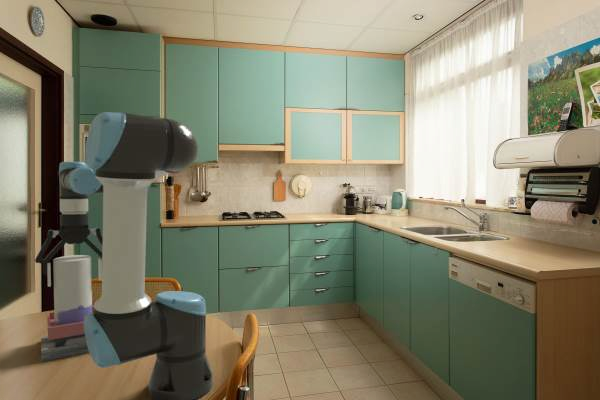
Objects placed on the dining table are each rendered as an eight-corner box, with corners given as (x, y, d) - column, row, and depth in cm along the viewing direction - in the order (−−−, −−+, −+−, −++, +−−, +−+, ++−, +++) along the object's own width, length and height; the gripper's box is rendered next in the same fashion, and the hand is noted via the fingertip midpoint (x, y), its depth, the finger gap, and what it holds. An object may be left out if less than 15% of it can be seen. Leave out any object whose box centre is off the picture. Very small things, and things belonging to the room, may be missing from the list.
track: (163, 338, 129) (163, 331, 129) (41, 362, 111) (41, 354, 111) (151, 322, 143) (151, 316, 143) (41, 341, 125) (41, 334, 125)
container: (83, 314, 129) (82, 253, 128) (98, 321, 123) (97, 257, 122) (49, 323, 121) (47, 257, 120) (62, 331, 115) (61, 262, 114)
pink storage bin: (107, 339, 121) (107, 318, 120) (48, 350, 112) (47, 328, 112) (101, 324, 133) (101, 305, 133) (47, 333, 125) (47, 312, 125)
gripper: (117, 211, 131) (118, 275, 132) (24, 213, 117) (26, 285, 118) (121, 212, 125) (122, 279, 125) (23, 215, 111) (25, 291, 112)
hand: (75, 282), depth 122 cm, fingers open, 13 cm apart
